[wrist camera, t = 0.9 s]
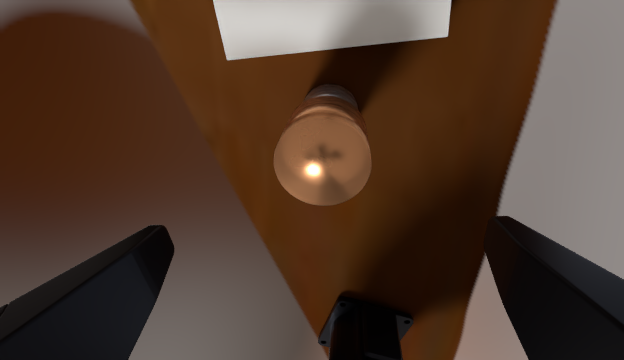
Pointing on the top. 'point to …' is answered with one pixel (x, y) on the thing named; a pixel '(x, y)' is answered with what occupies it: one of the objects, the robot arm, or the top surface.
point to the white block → (325, 24)
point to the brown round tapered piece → (324, 148)
